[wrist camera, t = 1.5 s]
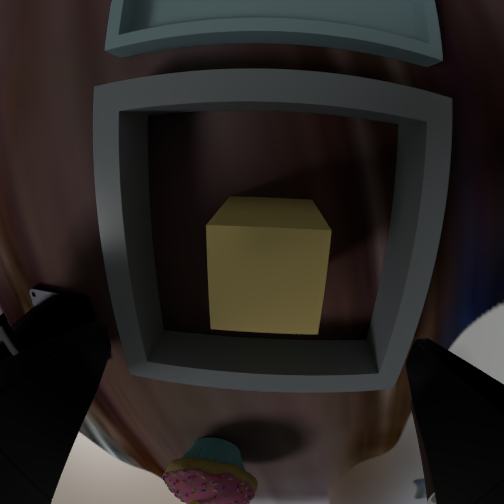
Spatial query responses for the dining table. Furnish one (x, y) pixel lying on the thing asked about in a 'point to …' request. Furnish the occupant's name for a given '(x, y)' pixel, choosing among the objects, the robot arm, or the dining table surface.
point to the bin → (260, 349)
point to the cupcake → (211, 474)
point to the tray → (279, 26)
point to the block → (267, 265)
